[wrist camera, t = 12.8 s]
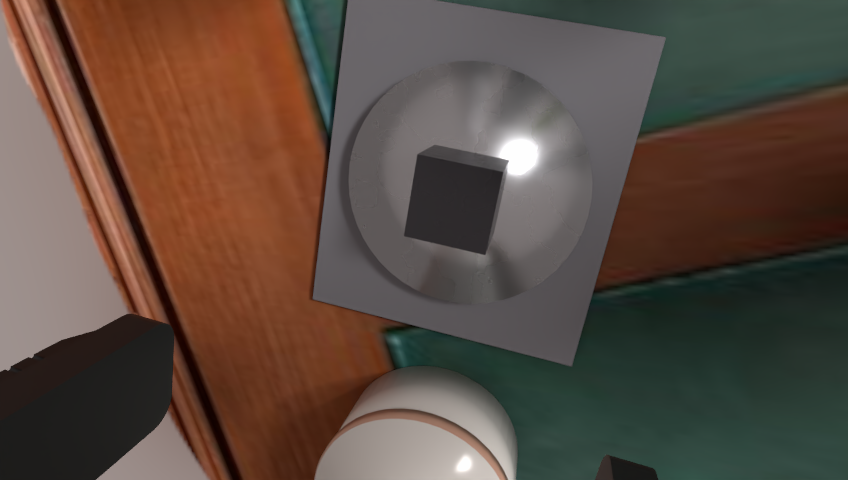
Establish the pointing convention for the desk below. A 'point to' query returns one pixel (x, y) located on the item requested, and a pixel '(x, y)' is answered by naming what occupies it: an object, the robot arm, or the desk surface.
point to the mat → (540, 60)
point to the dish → (423, 431)
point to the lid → (470, 182)
